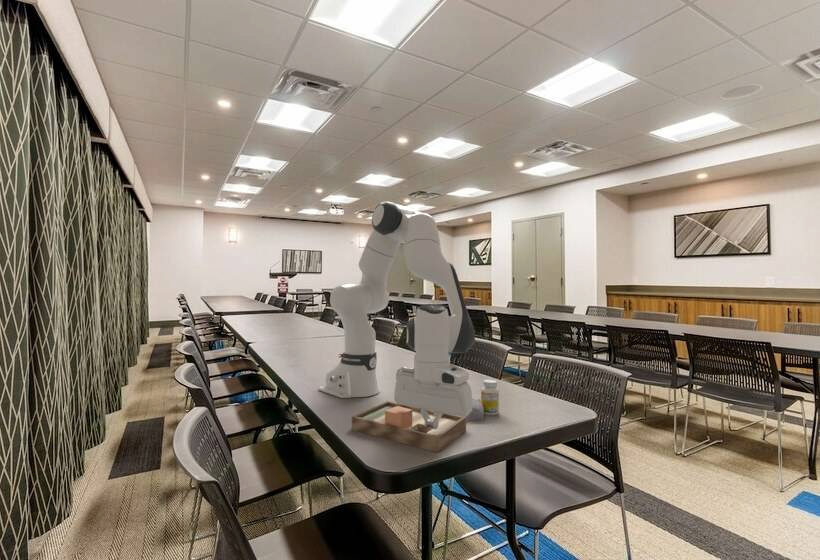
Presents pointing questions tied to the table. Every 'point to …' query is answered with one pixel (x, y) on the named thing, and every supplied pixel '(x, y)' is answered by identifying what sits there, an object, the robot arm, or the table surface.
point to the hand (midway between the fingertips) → (431, 427)
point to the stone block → (476, 411)
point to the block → (399, 417)
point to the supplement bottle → (490, 397)
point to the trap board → (413, 435)
